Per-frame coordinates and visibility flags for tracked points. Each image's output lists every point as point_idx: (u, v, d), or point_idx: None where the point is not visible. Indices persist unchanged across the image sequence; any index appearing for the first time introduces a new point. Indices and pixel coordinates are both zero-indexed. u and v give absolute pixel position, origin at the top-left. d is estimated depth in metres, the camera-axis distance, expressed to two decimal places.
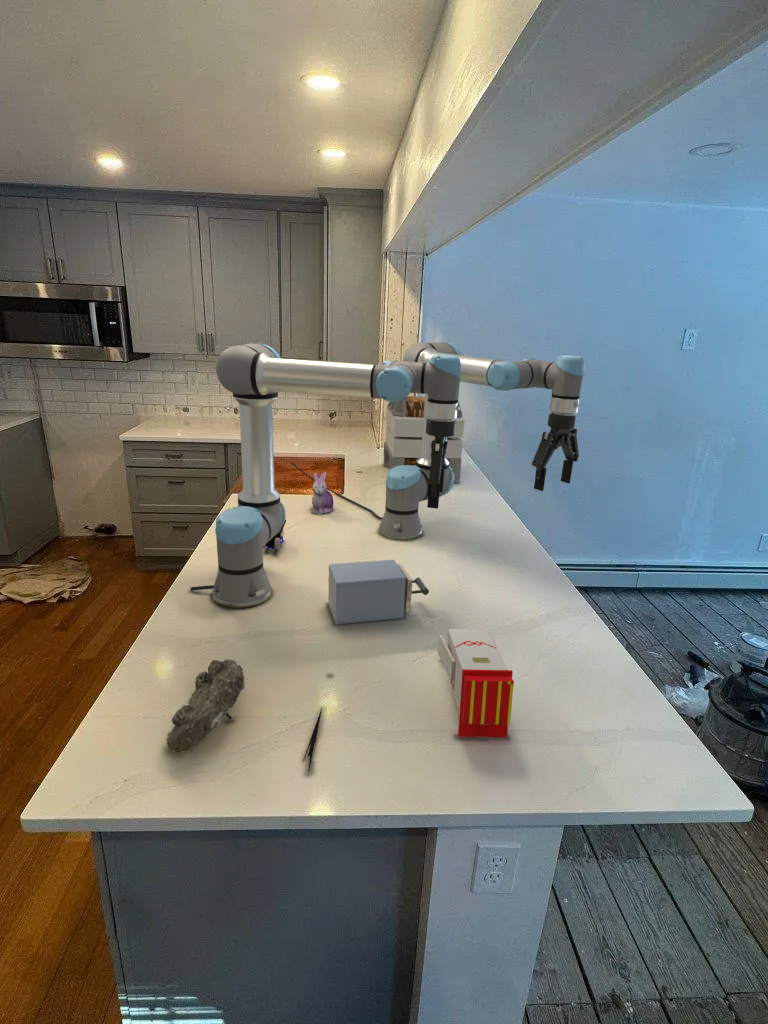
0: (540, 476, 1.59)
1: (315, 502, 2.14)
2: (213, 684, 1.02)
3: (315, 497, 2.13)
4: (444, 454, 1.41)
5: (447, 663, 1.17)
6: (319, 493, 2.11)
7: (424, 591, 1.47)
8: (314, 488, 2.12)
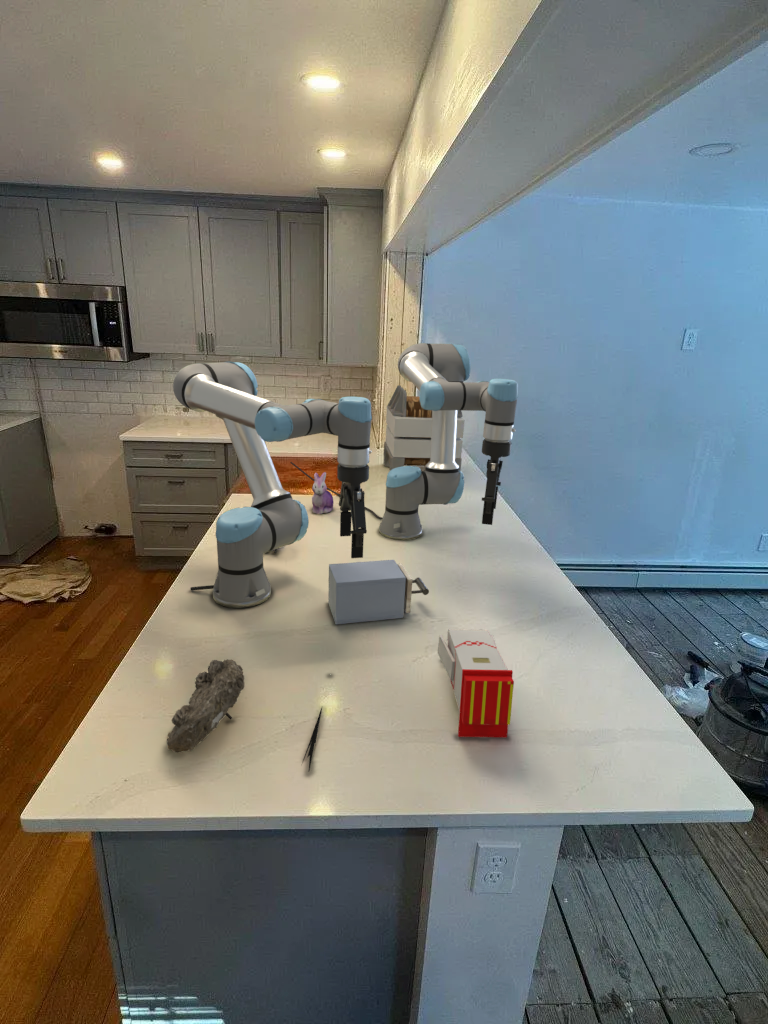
0: (491, 510, 1.47)
1: (315, 502, 2.14)
2: (213, 684, 1.02)
3: (315, 497, 2.13)
4: None
5: (447, 663, 1.17)
6: (319, 493, 2.11)
7: (424, 591, 1.47)
8: (314, 488, 2.12)
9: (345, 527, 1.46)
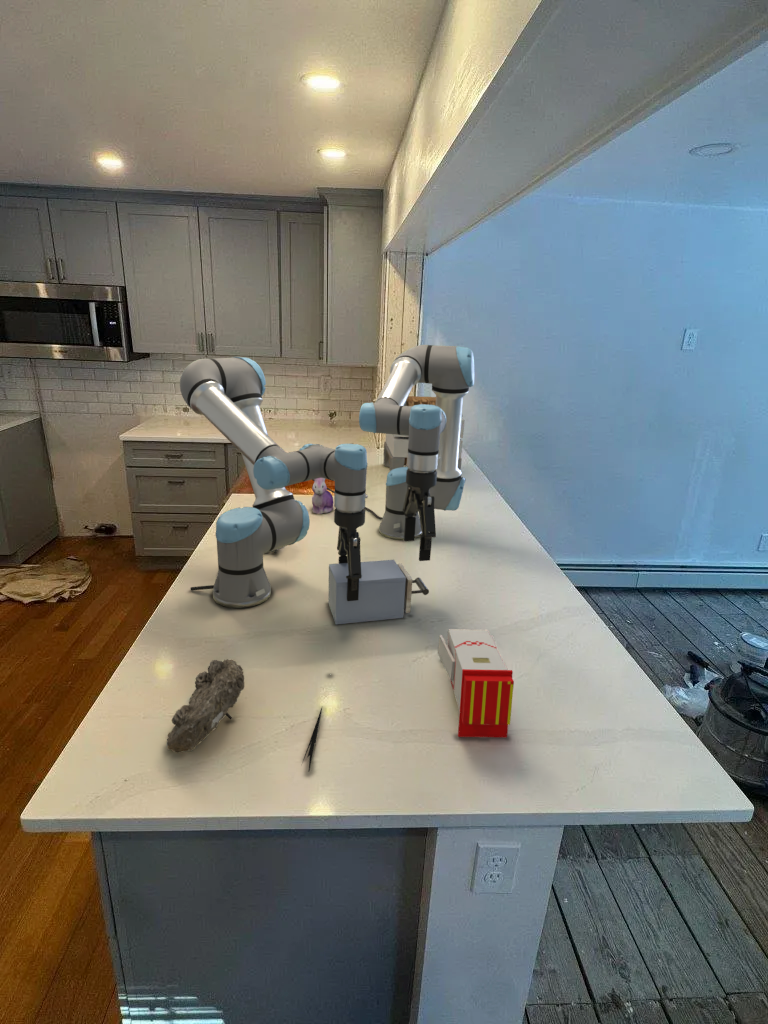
0: None
1: (315, 502, 2.14)
2: (213, 684, 1.02)
3: (315, 497, 2.13)
4: None
5: (447, 663, 1.17)
6: (319, 493, 2.11)
7: (424, 591, 1.47)
8: (314, 488, 2.12)
9: None
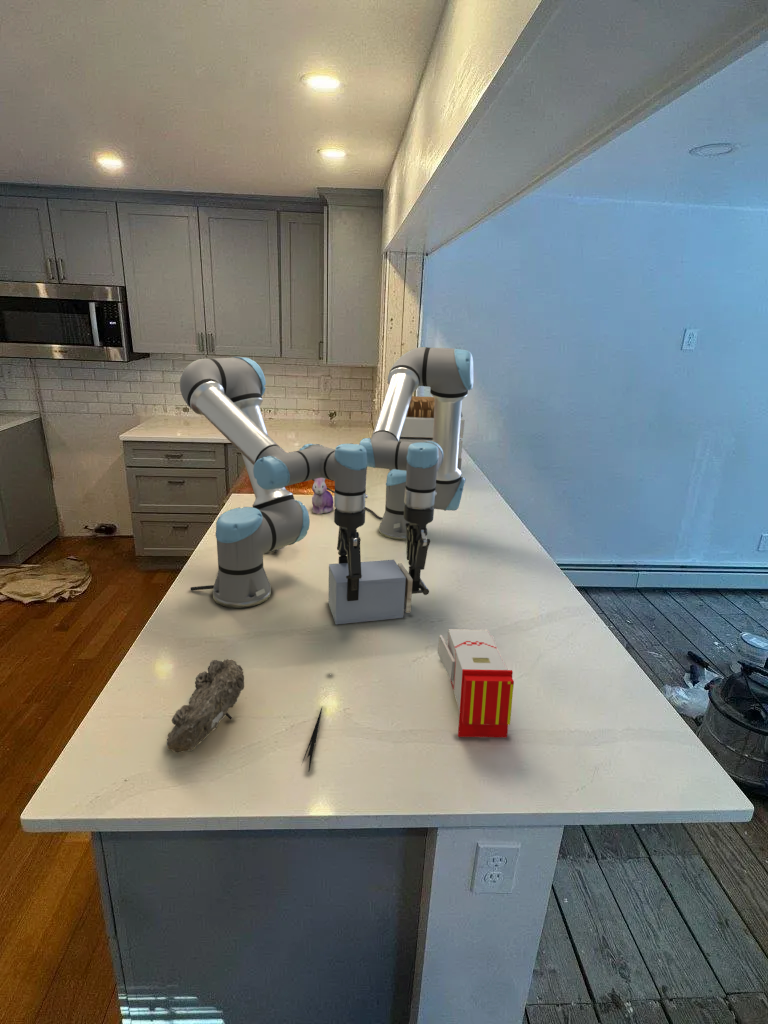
0: None
1: (315, 502, 2.14)
2: (213, 684, 1.02)
3: (315, 497, 2.13)
4: None
5: (447, 663, 1.17)
6: (319, 493, 2.11)
7: (424, 591, 1.47)
8: (314, 488, 2.12)
9: None
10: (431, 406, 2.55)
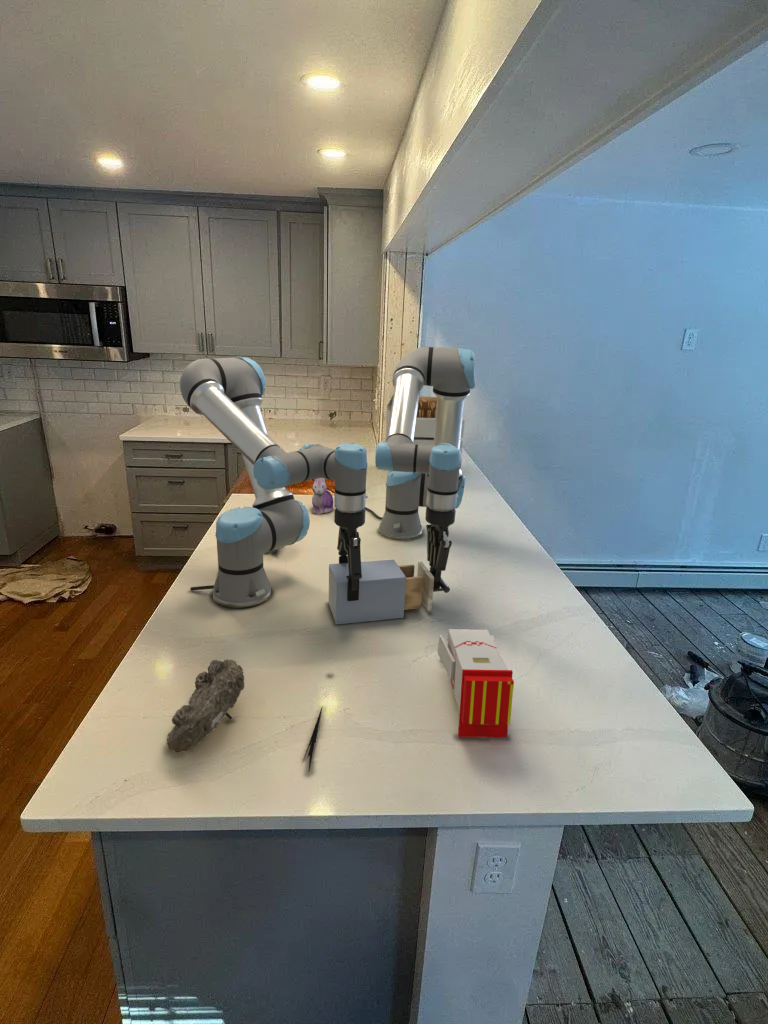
0: None
1: (315, 502, 2.14)
2: (213, 684, 1.02)
3: (315, 497, 2.13)
4: None
5: (447, 663, 1.17)
6: (319, 493, 2.11)
7: (445, 589, 1.49)
8: (314, 488, 2.12)
9: None
10: (431, 406, 2.55)
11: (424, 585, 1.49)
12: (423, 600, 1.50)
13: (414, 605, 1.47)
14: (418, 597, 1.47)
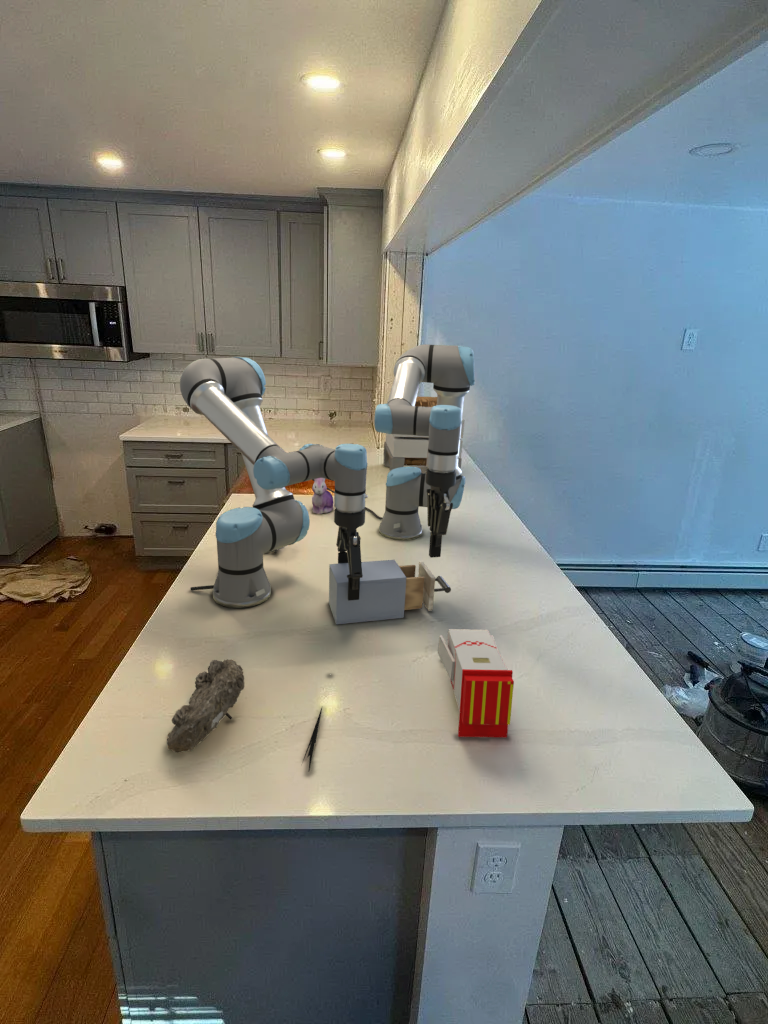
0: None
1: (315, 502, 2.14)
2: (213, 684, 1.02)
3: (315, 497, 2.13)
4: None
5: (447, 663, 1.17)
6: (319, 493, 2.11)
7: (446, 589, 1.49)
8: (314, 488, 2.12)
9: None
10: (431, 406, 2.55)
11: (425, 585, 1.49)
12: (424, 600, 1.50)
13: (415, 605, 1.47)
14: (419, 597, 1.47)
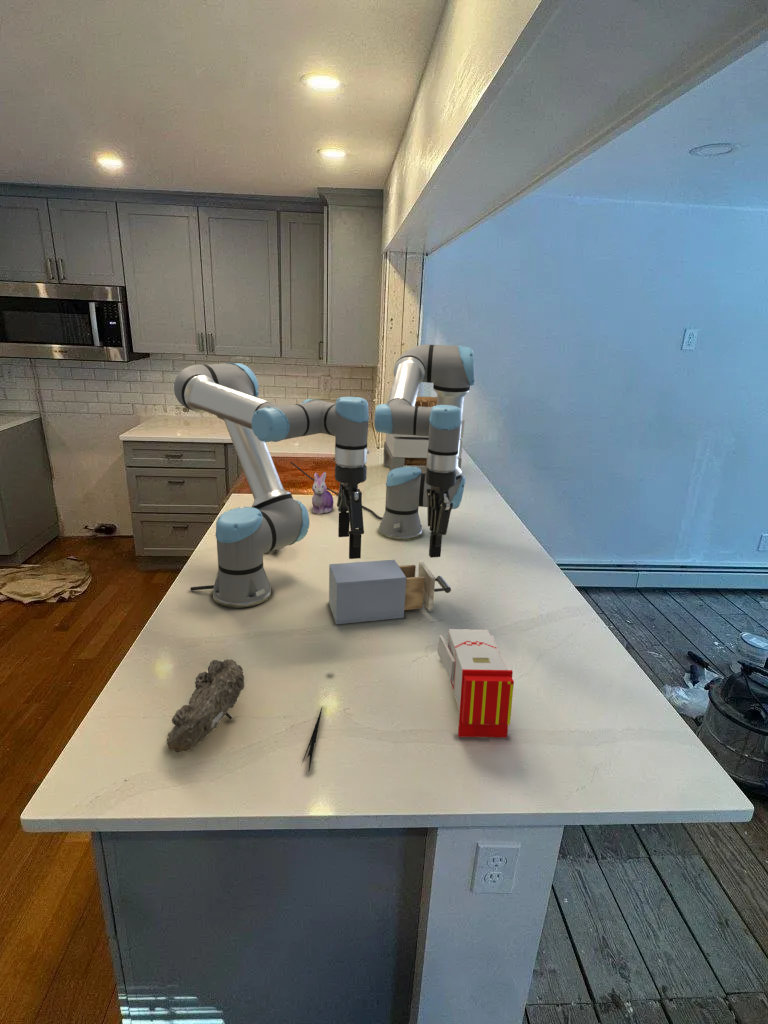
0: None
1: (315, 502, 2.14)
2: (213, 684, 1.02)
3: (315, 497, 2.13)
4: None
5: (447, 663, 1.17)
6: (319, 493, 2.11)
7: (446, 589, 1.49)
8: (314, 488, 2.12)
9: (343, 528, 1.46)
10: (431, 406, 2.55)
11: (425, 585, 1.49)
12: (424, 600, 1.50)
13: (415, 605, 1.47)
14: (419, 597, 1.47)
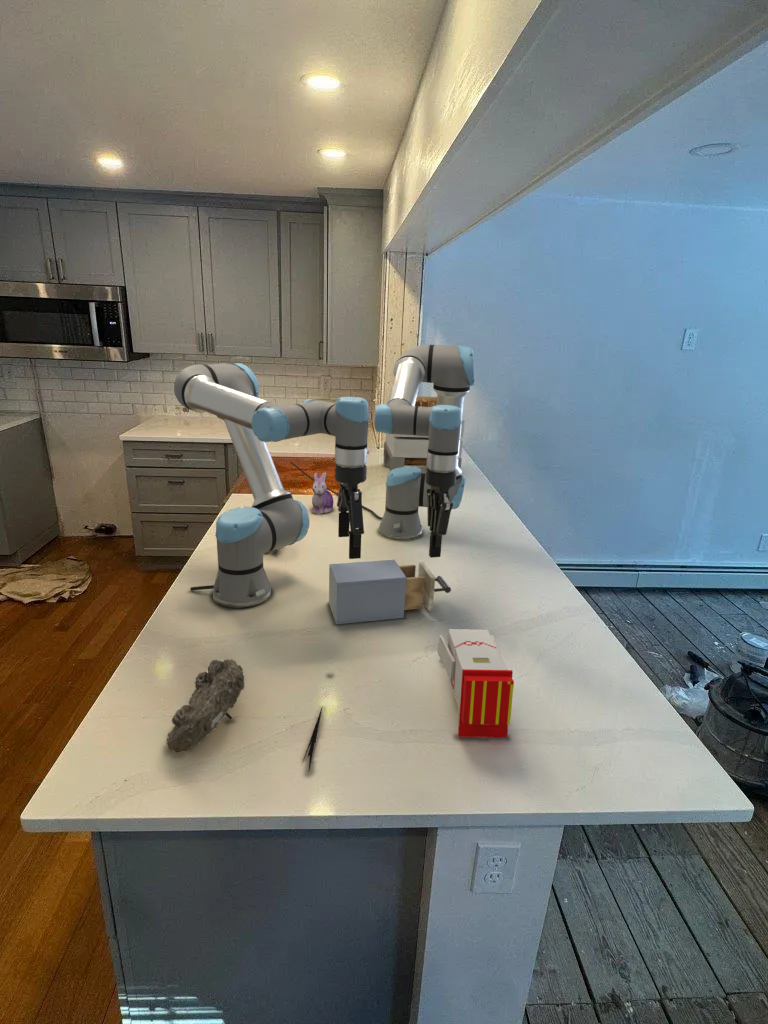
0: None
1: (315, 502, 2.14)
2: (213, 684, 1.02)
3: (315, 497, 2.13)
4: None
5: (447, 663, 1.17)
6: (319, 493, 2.11)
7: (446, 589, 1.49)
8: (314, 488, 2.12)
9: (343, 528, 1.46)
10: (431, 406, 2.55)
11: (425, 585, 1.49)
12: (424, 600, 1.50)
13: (415, 605, 1.47)
14: (419, 597, 1.47)
